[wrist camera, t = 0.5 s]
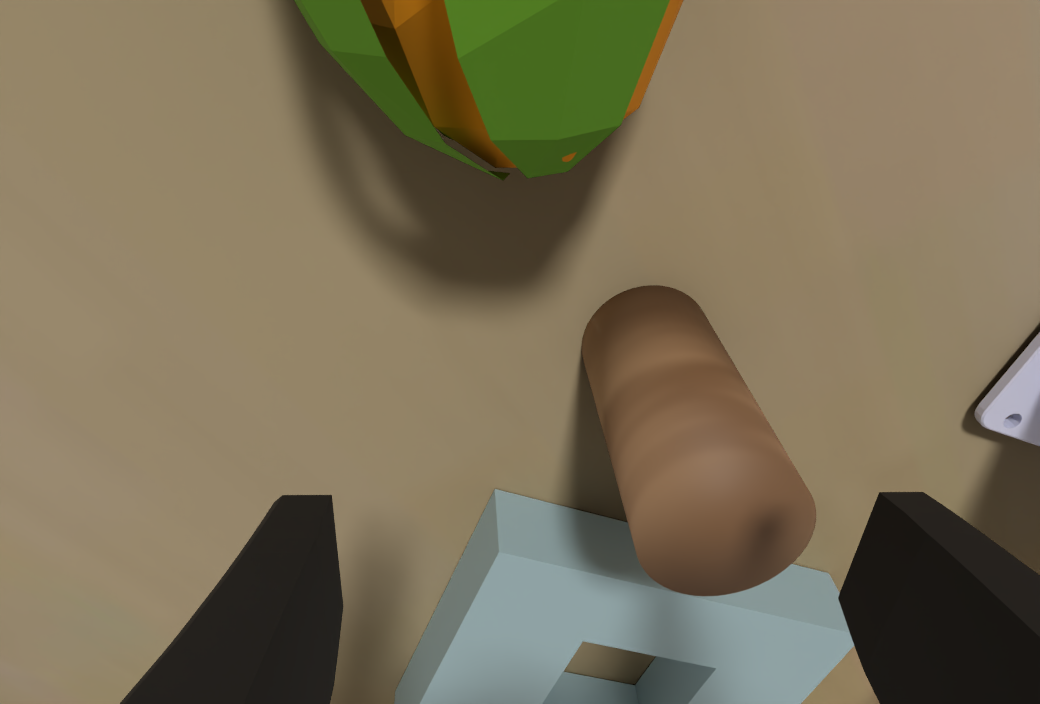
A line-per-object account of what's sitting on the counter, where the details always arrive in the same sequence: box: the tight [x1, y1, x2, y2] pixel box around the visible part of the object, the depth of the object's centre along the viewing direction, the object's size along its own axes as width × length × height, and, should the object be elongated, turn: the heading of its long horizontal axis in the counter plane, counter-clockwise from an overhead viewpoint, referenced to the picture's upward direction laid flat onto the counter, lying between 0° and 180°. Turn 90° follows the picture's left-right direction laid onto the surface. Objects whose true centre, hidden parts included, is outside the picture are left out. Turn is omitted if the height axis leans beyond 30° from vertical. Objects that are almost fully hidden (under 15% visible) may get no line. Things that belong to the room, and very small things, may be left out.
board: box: [394, 489, 854, 704], centre depth 25 cm, size 12×10×2 cm
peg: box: [582, 286, 816, 596], centre depth 17 cm, size 3×3×7 cm
